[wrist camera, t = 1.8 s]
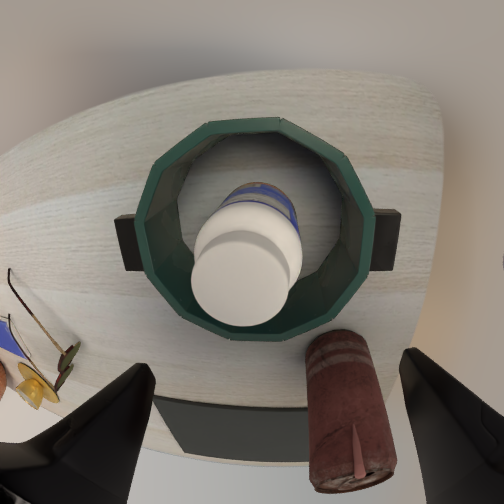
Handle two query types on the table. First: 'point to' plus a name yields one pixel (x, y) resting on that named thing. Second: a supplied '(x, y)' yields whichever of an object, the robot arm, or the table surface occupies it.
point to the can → (346, 416)
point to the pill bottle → (247, 256)
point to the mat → (237, 430)
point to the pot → (303, 291)
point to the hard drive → (11, 339)
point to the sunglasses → (65, 356)
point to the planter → (2, 381)
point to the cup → (34, 388)
